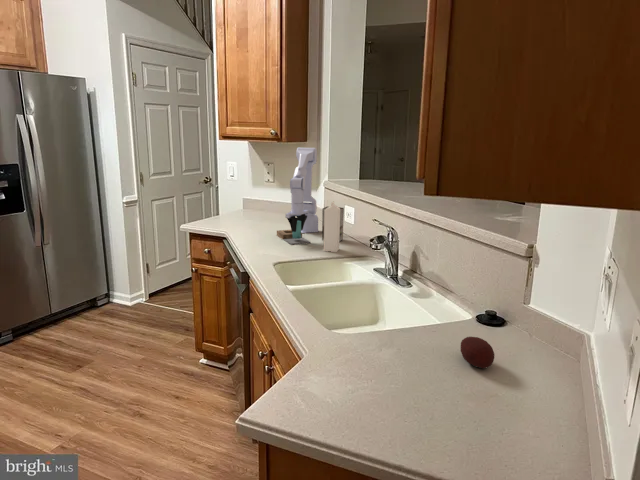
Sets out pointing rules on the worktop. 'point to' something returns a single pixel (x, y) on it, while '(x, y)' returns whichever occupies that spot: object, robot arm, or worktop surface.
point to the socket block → (285, 234)
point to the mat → (296, 241)
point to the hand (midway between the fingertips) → (297, 230)
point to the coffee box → (340, 223)
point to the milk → (331, 228)
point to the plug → (297, 231)
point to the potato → (477, 352)
